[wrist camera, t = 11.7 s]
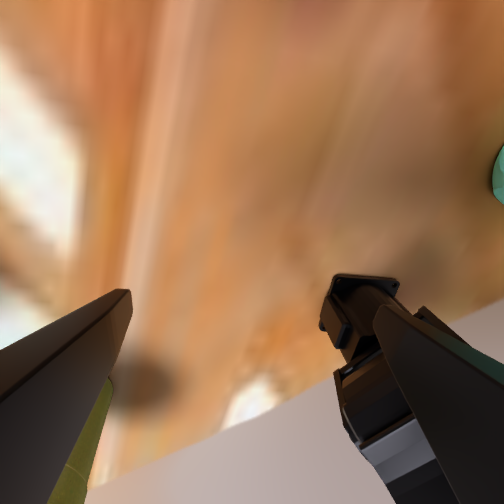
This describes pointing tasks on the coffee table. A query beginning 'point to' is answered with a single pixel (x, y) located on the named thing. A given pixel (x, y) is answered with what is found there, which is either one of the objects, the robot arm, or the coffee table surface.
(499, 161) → the decorative dice
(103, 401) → the plant pot
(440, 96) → the coffee table surface
